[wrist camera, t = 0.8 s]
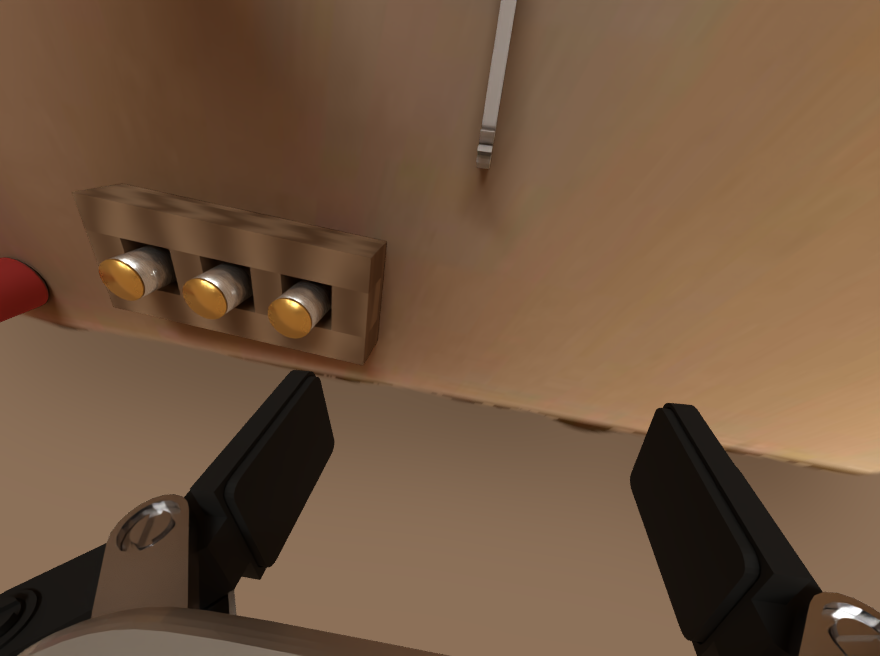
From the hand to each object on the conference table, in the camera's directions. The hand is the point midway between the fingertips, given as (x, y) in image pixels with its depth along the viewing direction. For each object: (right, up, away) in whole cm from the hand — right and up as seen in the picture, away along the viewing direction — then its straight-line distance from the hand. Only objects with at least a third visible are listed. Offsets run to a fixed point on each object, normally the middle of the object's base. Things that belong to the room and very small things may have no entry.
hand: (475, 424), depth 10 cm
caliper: (+4, +26, +15) cm, 30 cm away
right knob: (-14, +6, +25) cm, 29 cm away
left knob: (-29, +9, +26) cm, 40 cm away
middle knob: (-22, +8, +25) cm, 34 cm away
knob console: (-21, +9, +29) cm, 37 cm away
